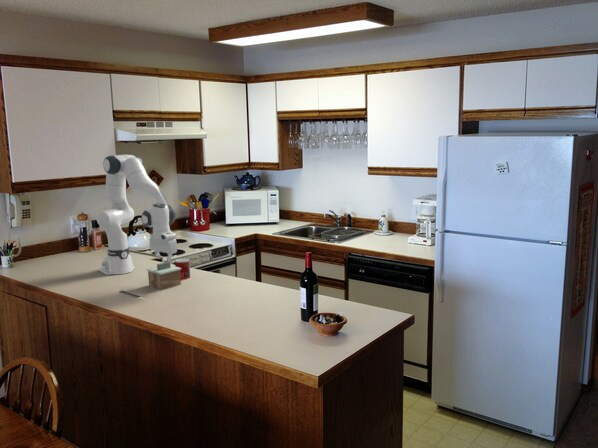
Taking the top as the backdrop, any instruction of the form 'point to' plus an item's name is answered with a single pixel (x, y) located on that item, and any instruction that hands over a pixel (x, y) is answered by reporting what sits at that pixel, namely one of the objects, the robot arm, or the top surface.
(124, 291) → the dark grey flat plate
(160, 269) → the lid
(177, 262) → the canned food
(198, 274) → the top surface
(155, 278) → the crate
